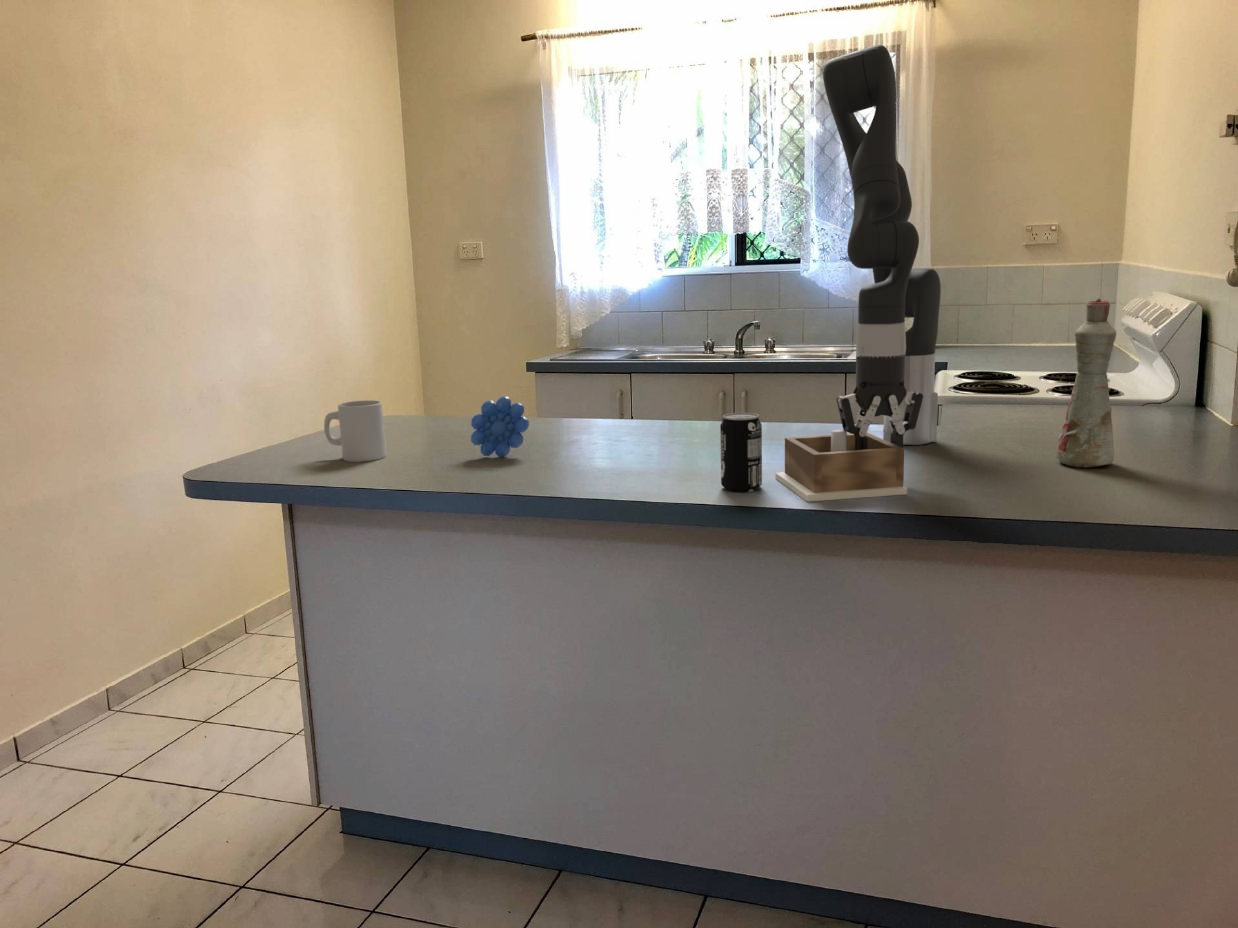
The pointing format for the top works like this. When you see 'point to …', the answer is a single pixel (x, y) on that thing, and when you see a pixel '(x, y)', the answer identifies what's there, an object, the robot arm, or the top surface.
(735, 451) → the beverage can
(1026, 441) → the top surface
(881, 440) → the collar
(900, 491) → the white square baseplate
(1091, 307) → the bottle
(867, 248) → the robot arm
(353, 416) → the mug
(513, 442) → the blue flower ornament
